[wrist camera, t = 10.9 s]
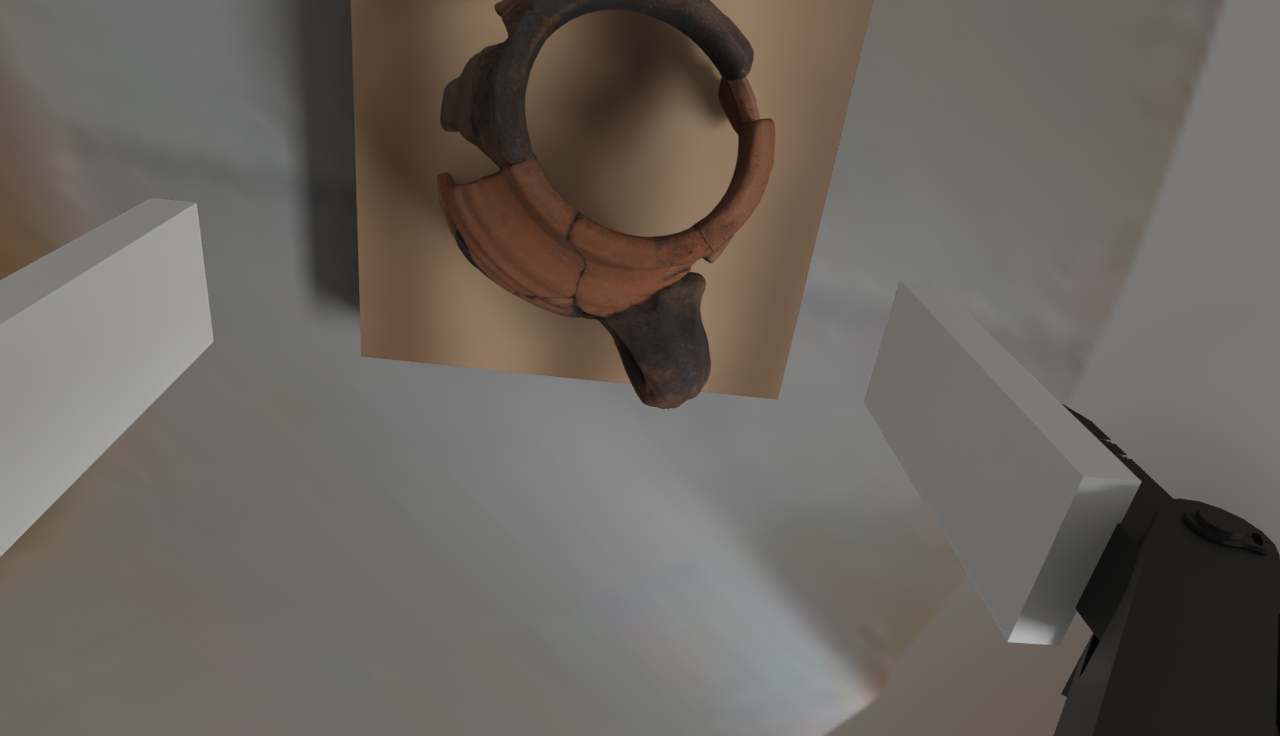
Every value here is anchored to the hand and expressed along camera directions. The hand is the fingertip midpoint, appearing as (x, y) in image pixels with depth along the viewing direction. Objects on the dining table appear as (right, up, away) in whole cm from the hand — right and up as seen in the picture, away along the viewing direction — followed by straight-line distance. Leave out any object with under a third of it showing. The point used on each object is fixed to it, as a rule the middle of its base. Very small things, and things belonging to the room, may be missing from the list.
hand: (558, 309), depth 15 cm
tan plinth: (0, +6, +13) cm, 14 cm away
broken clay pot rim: (+1, +5, +10) cm, 12 cm away
